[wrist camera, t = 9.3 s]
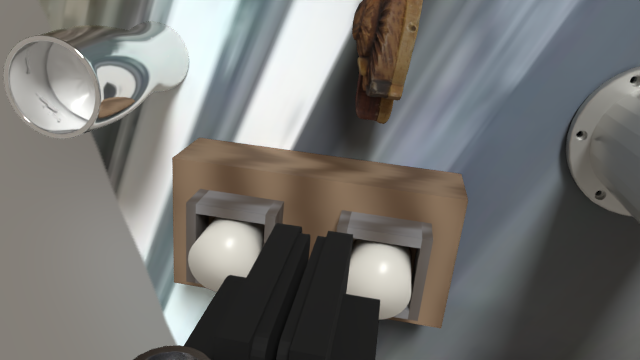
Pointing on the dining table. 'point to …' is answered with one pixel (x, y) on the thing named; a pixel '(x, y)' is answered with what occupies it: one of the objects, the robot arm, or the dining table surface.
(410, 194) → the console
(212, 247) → the knob
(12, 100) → the beer glass
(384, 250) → the knob
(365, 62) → the wooden carving
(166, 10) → the dining table surface
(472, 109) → the dining table surface
